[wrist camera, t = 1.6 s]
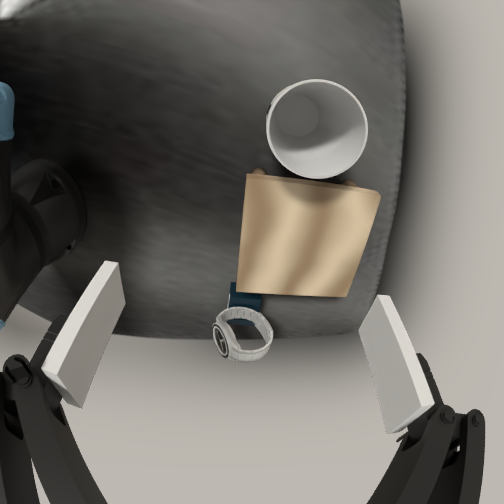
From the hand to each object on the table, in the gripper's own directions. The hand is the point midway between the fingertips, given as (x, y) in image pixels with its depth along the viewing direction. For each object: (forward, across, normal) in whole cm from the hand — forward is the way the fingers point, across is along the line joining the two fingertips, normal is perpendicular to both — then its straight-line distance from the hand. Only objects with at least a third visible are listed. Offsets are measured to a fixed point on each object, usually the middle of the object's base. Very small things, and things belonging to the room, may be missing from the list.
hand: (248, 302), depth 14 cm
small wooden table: (+22, +6, -6) cm, 23 cm away
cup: (+22, +4, +7) cm, 23 cm away
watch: (+22, +1, -19) cm, 29 cm away
